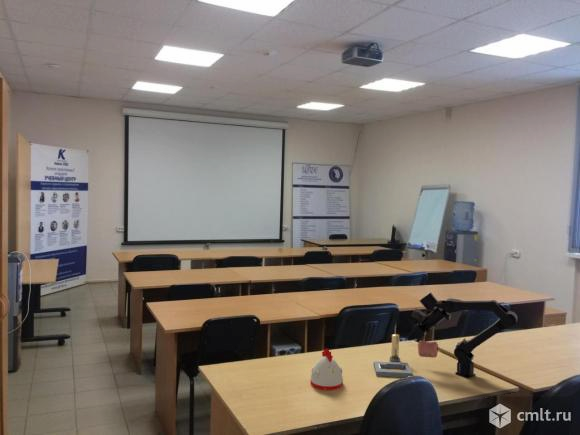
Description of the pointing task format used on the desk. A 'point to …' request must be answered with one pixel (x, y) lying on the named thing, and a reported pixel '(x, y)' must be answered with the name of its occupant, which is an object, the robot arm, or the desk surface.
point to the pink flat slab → (427, 349)
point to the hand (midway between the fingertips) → (410, 337)
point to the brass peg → (395, 348)
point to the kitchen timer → (326, 373)
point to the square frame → (392, 373)
